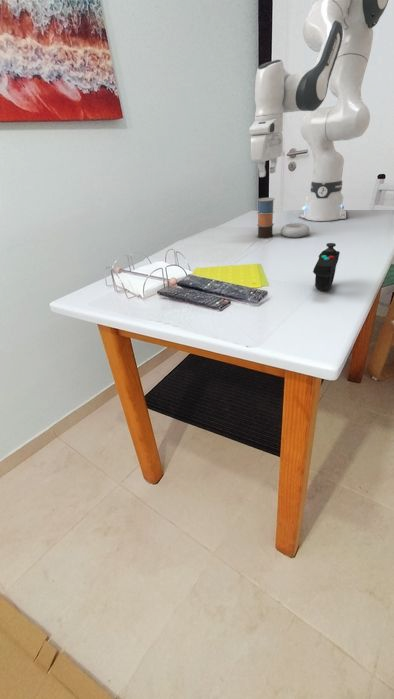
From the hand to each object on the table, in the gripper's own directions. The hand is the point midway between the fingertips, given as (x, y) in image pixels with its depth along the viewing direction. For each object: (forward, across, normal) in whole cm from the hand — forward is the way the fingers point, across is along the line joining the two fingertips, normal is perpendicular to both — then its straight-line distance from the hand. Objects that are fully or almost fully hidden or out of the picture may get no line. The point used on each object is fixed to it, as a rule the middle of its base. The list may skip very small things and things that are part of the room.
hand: (267, 174), depth 115 cm
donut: (+21, -3, +10) cm, 23 cm away
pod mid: (+16, +1, 0) cm, 16 cm away
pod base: (+20, +1, 0) cm, 21 cm away
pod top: (+12, 0, 0) cm, 12 cm away
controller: (+20, +45, +31) cm, 58 cm away
